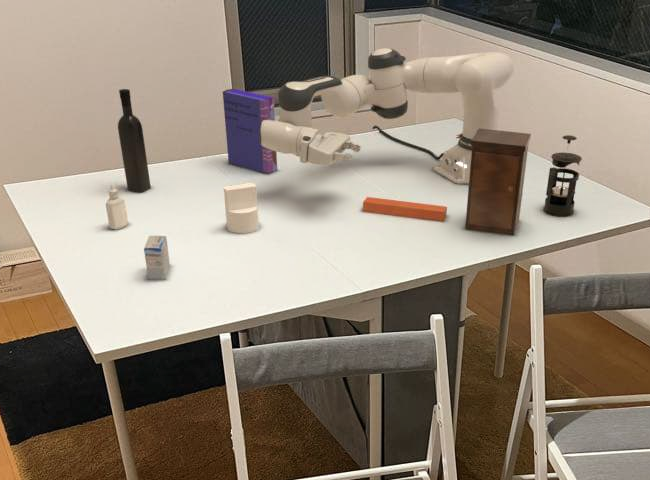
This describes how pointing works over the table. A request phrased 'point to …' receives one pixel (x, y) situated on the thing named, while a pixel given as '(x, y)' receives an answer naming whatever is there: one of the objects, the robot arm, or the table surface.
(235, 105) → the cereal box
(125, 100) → the wine bottle
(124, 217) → the eye dropper bottle
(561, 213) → the french press
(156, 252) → the medicine box
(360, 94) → the robot arm
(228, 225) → the cylinder with rectangular tab
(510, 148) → the cabinet
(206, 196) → the table surface
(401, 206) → the orange rectangular bar
